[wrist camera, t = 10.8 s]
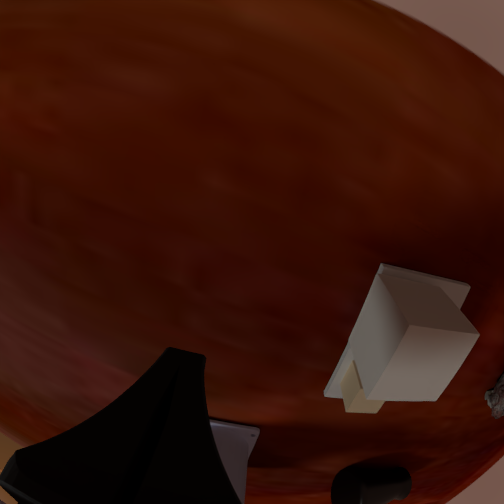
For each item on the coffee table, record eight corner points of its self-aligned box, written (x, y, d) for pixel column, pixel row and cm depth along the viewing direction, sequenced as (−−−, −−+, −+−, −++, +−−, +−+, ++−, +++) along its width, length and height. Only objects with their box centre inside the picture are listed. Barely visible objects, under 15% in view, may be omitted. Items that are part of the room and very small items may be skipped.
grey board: (402, 396, 24) (413, 425, 20) (323, 391, 24) (328, 424, 20) (467, 283, 19) (491, 307, 16) (380, 263, 19) (400, 289, 16)
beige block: (409, 347, 20) (435, 400, 15) (348, 339, 20) (366, 399, 15) (440, 287, 18) (480, 334, 13) (376, 272, 18) (409, 325, 13)
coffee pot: (354, 458, 28) (409, 448, 29) (295, 496, 37) (342, 491, 38) (367, 514, 21) (424, 497, 23) (300, 536, 30) (349, 528, 32)
